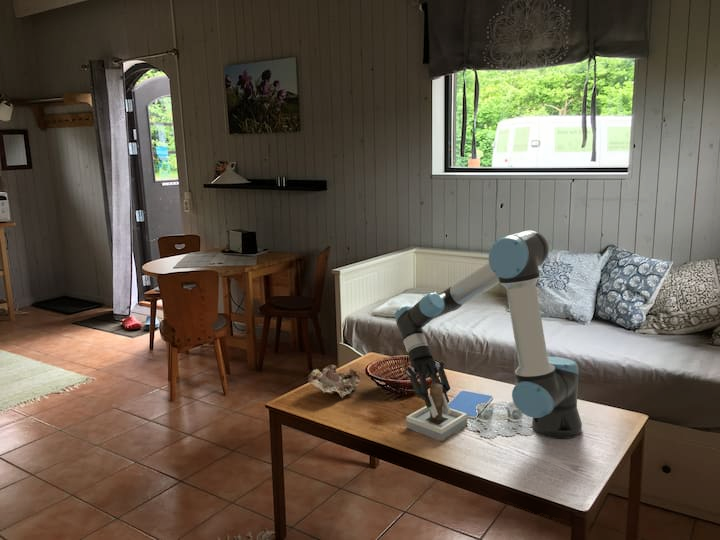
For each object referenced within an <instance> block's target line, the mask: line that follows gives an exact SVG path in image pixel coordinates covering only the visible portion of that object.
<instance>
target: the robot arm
mask: <svg viewBox="0 0 720 540" xmlns="http://www.w3.org/2000/svg"><path fill="white" fill-rule="evenodd" d="M549 250H550V246H549V243H548V241H547V239H546V237H544V235H542V234H541V233H540V232H537V231H536V230H523V231H520V232H517V233H512V234H509V235H505V236H503V237H501V238H499V239H498V240H496V241H495V242H494V243H493V244H492V246H491V247H490V249H489V253H488V263H485V264H484V265H483V266H481V267H479V268H478V269H477V270H474V271H473V272H471V273H470V274H468V275H467V276H465V277H463V278H462V279H460V280H459V281H457V282H455V283H454V284H453V285H451V286H450V287H448V288H446V289H445V290H443V291H441V292H439V293H434V292H429V293H426V295H425V296H422V298H421V299H420V300H419V301H418V302H417V303H416V304H414V305H413V306H411V305H406V306H403V307H401V308H399V309H397V310H396V311H395V313H394V319H395V322H396V326H397V329H398V331H399V333H400V336H401V338H402V341H403V345H404V347H405V350H406V353H407V357H408V358H409V361H410V364H411V366H410V367H409V368H408V369H406V372H405V374H406V375H407V377H409V380H410V383H411V385H412V387H413V390H414V393H415V396H416V397H417V398H418V399H421V400H422V401H424V404H425V406H427V408H430V411H431V413H432V416H433V418H435V417H436V416H437V415H438V413H437V410H436V407H435V405H434V402H433V399H432V396H431V395H430V394H429V391H428V390H429V389H428V383H427V376H428V378H429V379H431V382H433V383H432V384H441V385H442V406H443V409H444V411H445V414H446V415H448V414H449V413H450V412H451V410H450V408H449V405H448V404H449V403H450V399H449V396H448V394H447V393H448V392H449V391H450V390H451V386H450V384H449V381H448V377H447V374H446V371H445V369H444V366H445V364H444V362H442V361H441V362H436V360H435V359H434V358H433V353H432V351H431V349H430V346H429V344H428V341H427V338H426V336H425V333H424V331H423V328H424V327H425V326H426V325H427V324H429V323H430V322H432V320H435V319H437V318H440V317H442V316H443V315H444V316H445V315H446V314H448V313H451V312H454V311H456V310H459V309H460V308H461V307H462V306H463V305H465V304H467V303H468V302H469V301H471V300H473V299H475V298H477V297H479V296H480V295H481V294H484V293H485V292H487V291H488V290H490V289H491V288H494V287H495V286H497V285H498V284H500V285H501V286H503V287H504V288H505V291H506V296H507V297H506V298H507V303H508V308H509V312H510V313H509V314H510V321H511V325H512V326H511V327H512V331H513V332H512V333H513V337H514V344H515V350H516V356H517V361H518V366H517V368H516V369H515V371H514V373H515V380H516V384H515V385H514V387H513V388H512V391H511V398H512V402H513V404H514V405H515V408H517V410H518V411H520V412H521V413H522V414H523V415H525V416H526V417H529V418H532V420H531V422H532V424H531V425H532V428H533V430H534V431H535V432H536V433H538V434H539V435H542V436H544V437H547V438H553V439H561V440H562V439H563V440H564V439H572V438H575V437H578V436H580V434H581V433H582V429H583V423H582V419H581V416H580V413H579V409H578V405H577V404H578V388H579V387H578V386H579V374H580V373H579V372H580V371H579V364H578V363H577V362H576V361H574V360H572V359H569V358H566V357H561V356H548V350H547V345H546V340H545V338H546V337H545V333H544V332H545V331H544V326H543V321H542V315H541V307H540V303H539V296H538V289H537V282H538V280H539V279H540V270H539V266H541V265H542V264H544V263H545V261H546V259H547V258H548V256H549ZM435 368H436V369H435ZM436 370H437V371H436ZM415 373H416V374H417V375H418V378H417V376H416V374H415ZM437 373H438V375H437Z"/></svg>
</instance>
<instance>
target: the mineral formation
mask: <svg viewBox="0 0 720 540" xmlns="http://www.w3.org/2000/svg"><path fill="white" fill-rule="evenodd" d="M337 369H338V366H336V365H334V364H329V365H327V366H325V367H324V368H323V369H322V371H320V369H318V368H316V369H313V370H312V371H311V373H309V375H307V376H308V379H307V380H308V383H309V384H312V385H313V386H314V387H316V388H318V390H321V391H322V393H323V394H324V393H328V394H330V395H333V394H335V392H337V393H338V394H339V397H341V399H343V398H344V397H345V396H346V395H349V394H351V393H352V391H353V390H356V386H358V385H359V382H361V377H360V375H359V374H358V372H357V371H355V370H354V369H353V368H352V367H350V369H348V370H349V371H348V372H345V373H344V372H338V373H337Z"/></svg>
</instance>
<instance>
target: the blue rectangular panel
mask: <svg viewBox="0 0 720 540" xmlns="http://www.w3.org/2000/svg"><path fill="white" fill-rule="evenodd" d="M493 399H494V396H492V395H489V394H485V393H479V392H474V391H466V390H460V391H459V392H458V393H456V395H455V396H454V397H453V398H452V400H450V401H449V403H448V405H449V408H451V409H454V410H457V411H460V412H463V413H466V414H467V419H470V418H476V417H477V412H476V406H477V405H478V404H481V403H485V404H488V405H489V404H490V403H491V402H492V400H493Z"/></svg>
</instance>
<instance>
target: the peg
mask: <svg viewBox="0 0 720 540" xmlns="http://www.w3.org/2000/svg"><path fill="white" fill-rule="evenodd" d="M430 395H431V396H432V399H433V402H434V405H435V407H436V410H437V413H438V415H437V416H436V417H435V418H433V416H432V413H431V411H430V421H431V422H432V423H434V424H441V422H442V385H441V384H434V383H431V384H430V385H429V396H430Z"/></svg>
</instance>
